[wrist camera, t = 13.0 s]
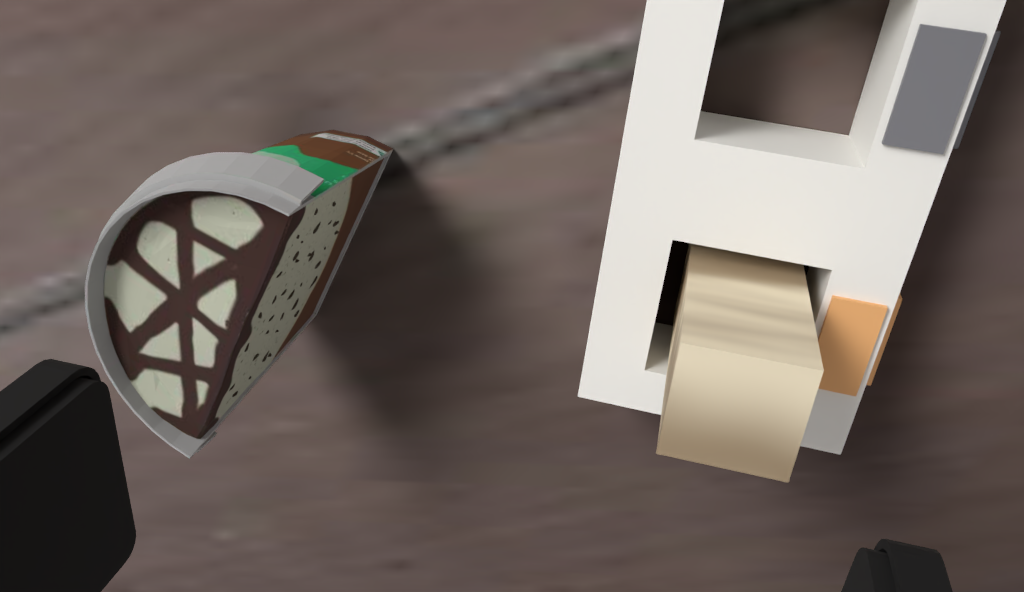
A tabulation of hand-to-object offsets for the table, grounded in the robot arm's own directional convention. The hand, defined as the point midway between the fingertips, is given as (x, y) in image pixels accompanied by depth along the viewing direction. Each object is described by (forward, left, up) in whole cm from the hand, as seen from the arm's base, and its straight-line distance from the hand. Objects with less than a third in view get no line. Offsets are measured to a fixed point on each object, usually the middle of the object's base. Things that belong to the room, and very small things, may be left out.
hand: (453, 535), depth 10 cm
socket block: (+2, +5, -24) cm, 25 cm away
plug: (+6, +5, -24) cm, 25 cm away
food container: (+7, -14, -24) cm, 29 cm away
